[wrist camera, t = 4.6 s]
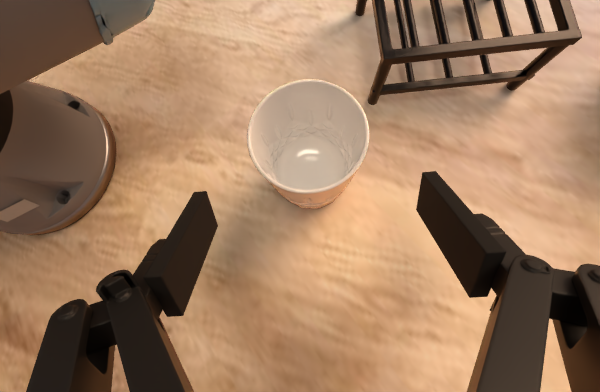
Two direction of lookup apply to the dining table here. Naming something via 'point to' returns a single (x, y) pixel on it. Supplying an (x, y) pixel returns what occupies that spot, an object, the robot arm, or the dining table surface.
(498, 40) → the wire rack
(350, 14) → the dining table surface
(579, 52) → the dining table surface
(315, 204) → the white cup
